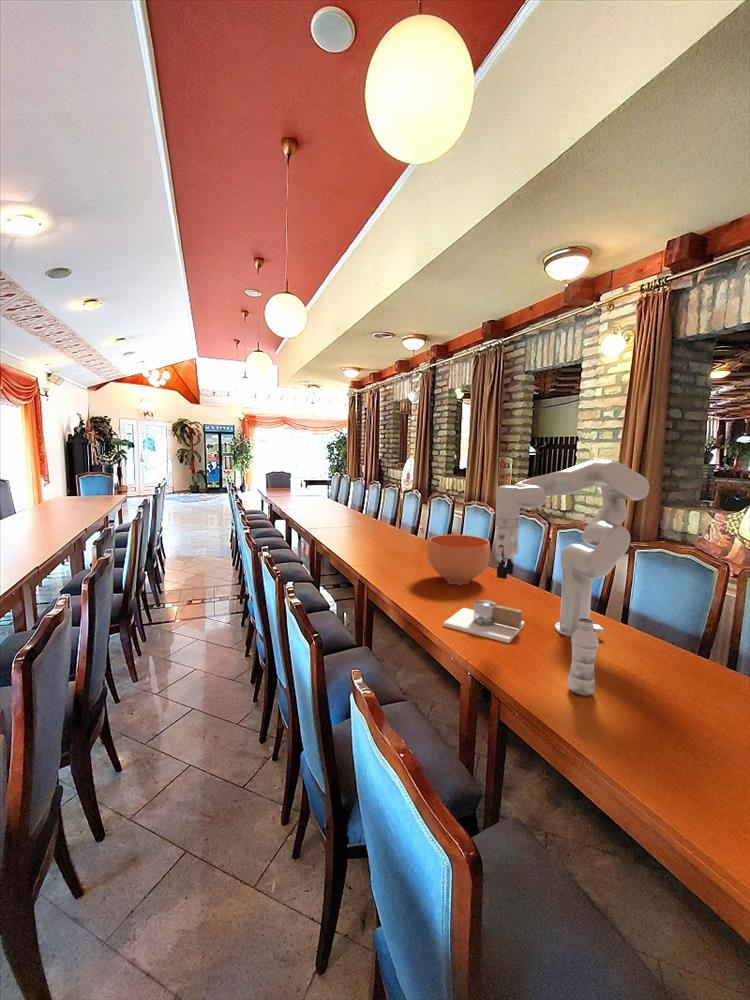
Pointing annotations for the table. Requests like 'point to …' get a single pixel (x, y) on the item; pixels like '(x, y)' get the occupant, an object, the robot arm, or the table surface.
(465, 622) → the base
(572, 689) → the plastic bottle
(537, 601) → the table surface
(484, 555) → the bowl
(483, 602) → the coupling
